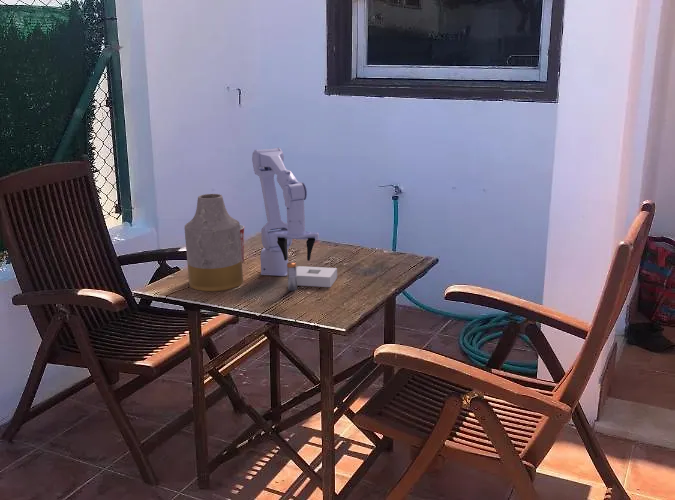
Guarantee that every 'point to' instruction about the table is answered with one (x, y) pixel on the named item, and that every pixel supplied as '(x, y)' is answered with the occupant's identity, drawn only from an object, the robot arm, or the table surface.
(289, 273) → the pin
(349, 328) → the table surface
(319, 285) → the block
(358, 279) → the table surface
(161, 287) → the table surface
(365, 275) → the table surface
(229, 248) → the vase
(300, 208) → the robot arm
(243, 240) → the mug
